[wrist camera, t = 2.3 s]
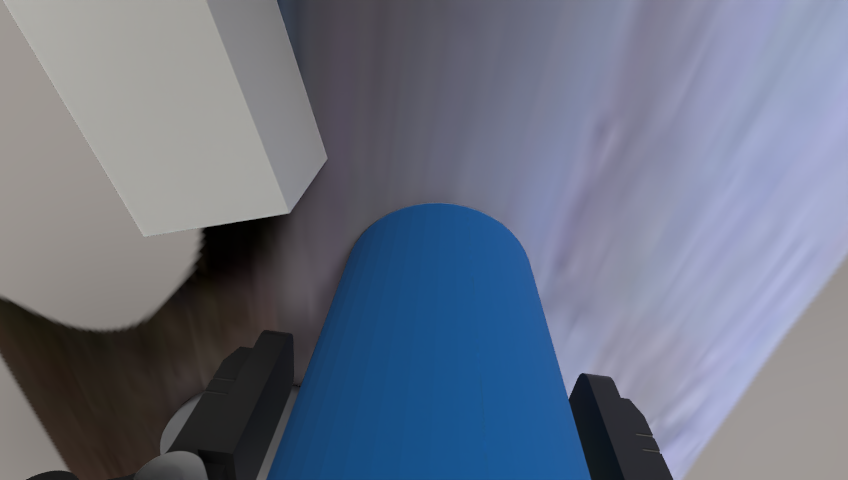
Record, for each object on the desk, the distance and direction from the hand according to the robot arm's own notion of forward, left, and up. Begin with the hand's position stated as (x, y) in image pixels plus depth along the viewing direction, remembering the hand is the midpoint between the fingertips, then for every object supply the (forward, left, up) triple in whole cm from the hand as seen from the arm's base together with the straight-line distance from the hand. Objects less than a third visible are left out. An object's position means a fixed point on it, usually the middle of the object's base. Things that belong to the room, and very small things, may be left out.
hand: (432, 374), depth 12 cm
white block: (-6, -7, -5) cm, 11 cm away
